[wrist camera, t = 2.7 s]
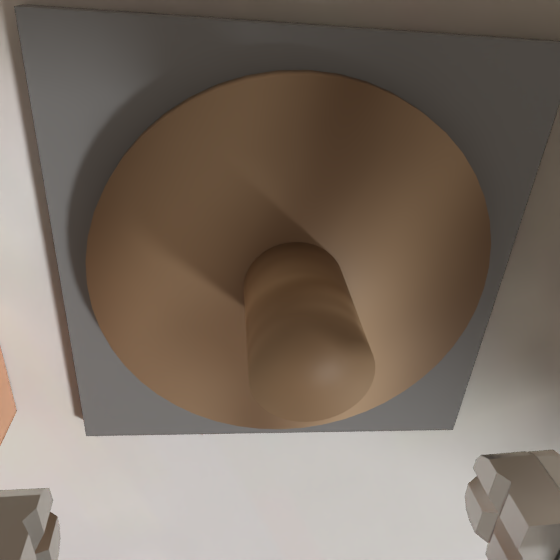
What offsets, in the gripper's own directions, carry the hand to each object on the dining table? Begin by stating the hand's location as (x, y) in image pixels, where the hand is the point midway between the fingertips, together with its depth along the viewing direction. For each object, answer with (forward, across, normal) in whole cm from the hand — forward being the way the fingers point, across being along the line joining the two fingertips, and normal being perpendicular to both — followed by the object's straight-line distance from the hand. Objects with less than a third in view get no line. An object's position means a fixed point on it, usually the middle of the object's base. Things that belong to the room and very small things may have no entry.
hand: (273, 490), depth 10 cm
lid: (+8, -1, -1) cm, 8 cm away
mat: (+8, -1, -1) cm, 8 cm away
